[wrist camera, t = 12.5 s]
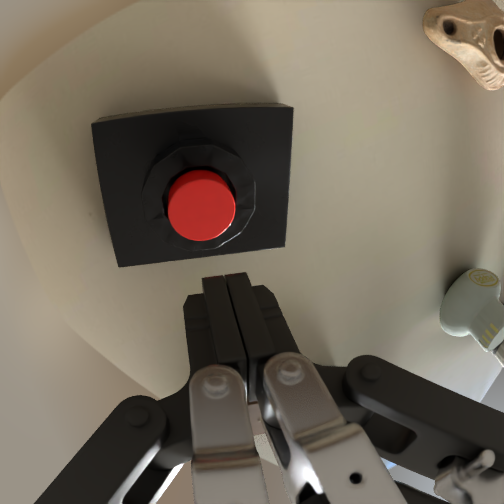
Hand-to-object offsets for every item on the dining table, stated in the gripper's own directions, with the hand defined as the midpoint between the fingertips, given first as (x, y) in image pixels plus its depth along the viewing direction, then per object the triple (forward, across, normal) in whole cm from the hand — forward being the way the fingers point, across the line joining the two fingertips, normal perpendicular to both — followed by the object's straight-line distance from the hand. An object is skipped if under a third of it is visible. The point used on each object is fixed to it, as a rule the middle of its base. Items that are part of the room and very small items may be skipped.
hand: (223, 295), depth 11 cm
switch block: (+12, 0, 0) cm, 12 cm away
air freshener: (+12, -34, +17) cm, 40 cm away
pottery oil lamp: (+12, -22, -14) cm, 29 cm away
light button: (+9, 0, 0) cm, 9 cm away
